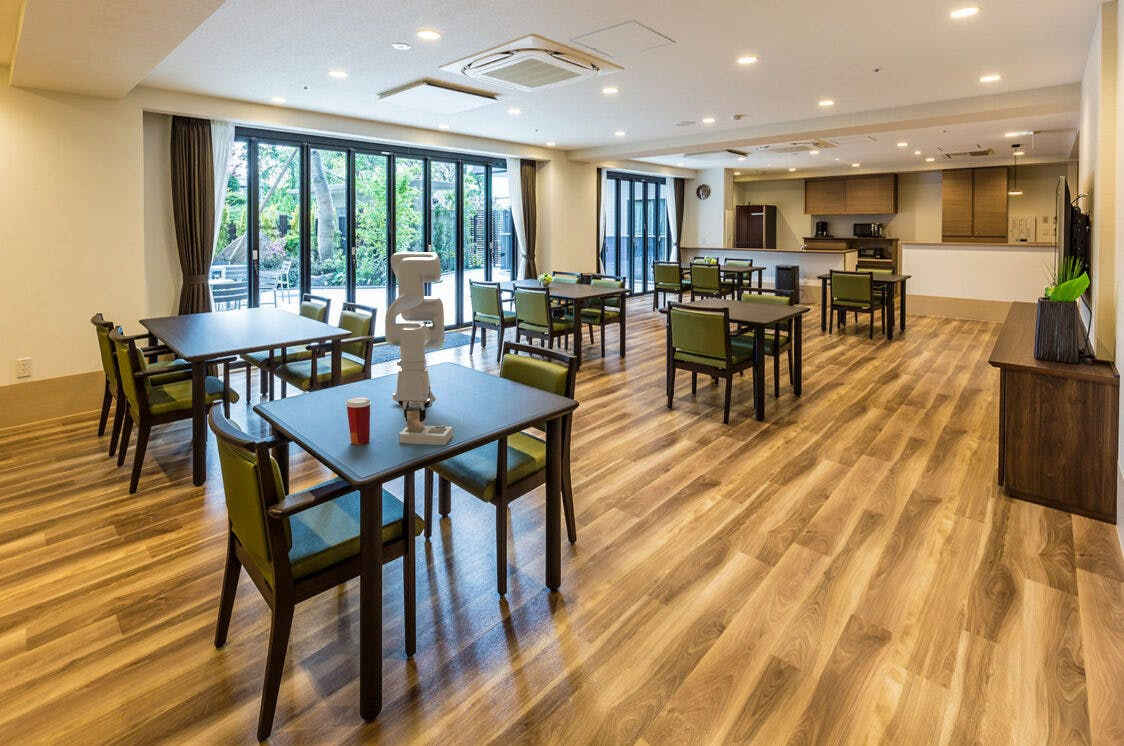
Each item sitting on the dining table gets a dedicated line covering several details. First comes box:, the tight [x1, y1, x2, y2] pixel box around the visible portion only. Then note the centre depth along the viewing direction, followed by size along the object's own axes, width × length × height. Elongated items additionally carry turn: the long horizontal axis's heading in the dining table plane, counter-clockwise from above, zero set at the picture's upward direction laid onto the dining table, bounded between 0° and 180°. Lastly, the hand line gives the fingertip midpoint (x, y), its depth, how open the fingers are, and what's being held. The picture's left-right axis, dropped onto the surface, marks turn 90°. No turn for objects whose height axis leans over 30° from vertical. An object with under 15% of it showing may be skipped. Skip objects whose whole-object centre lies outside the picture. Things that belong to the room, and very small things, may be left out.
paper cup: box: [344, 397, 372, 446], centre depth 197 cm, size 8×8×14 cm
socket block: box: [398, 424, 454, 446], centre depth 202 cm, size 15×10×3 cm, turn 85°
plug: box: [406, 405, 424, 429], centre depth 201 cm, size 4×4×7 cm
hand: (415, 419), depth 201 cm, fingers closed on plug, 4 cm apart
